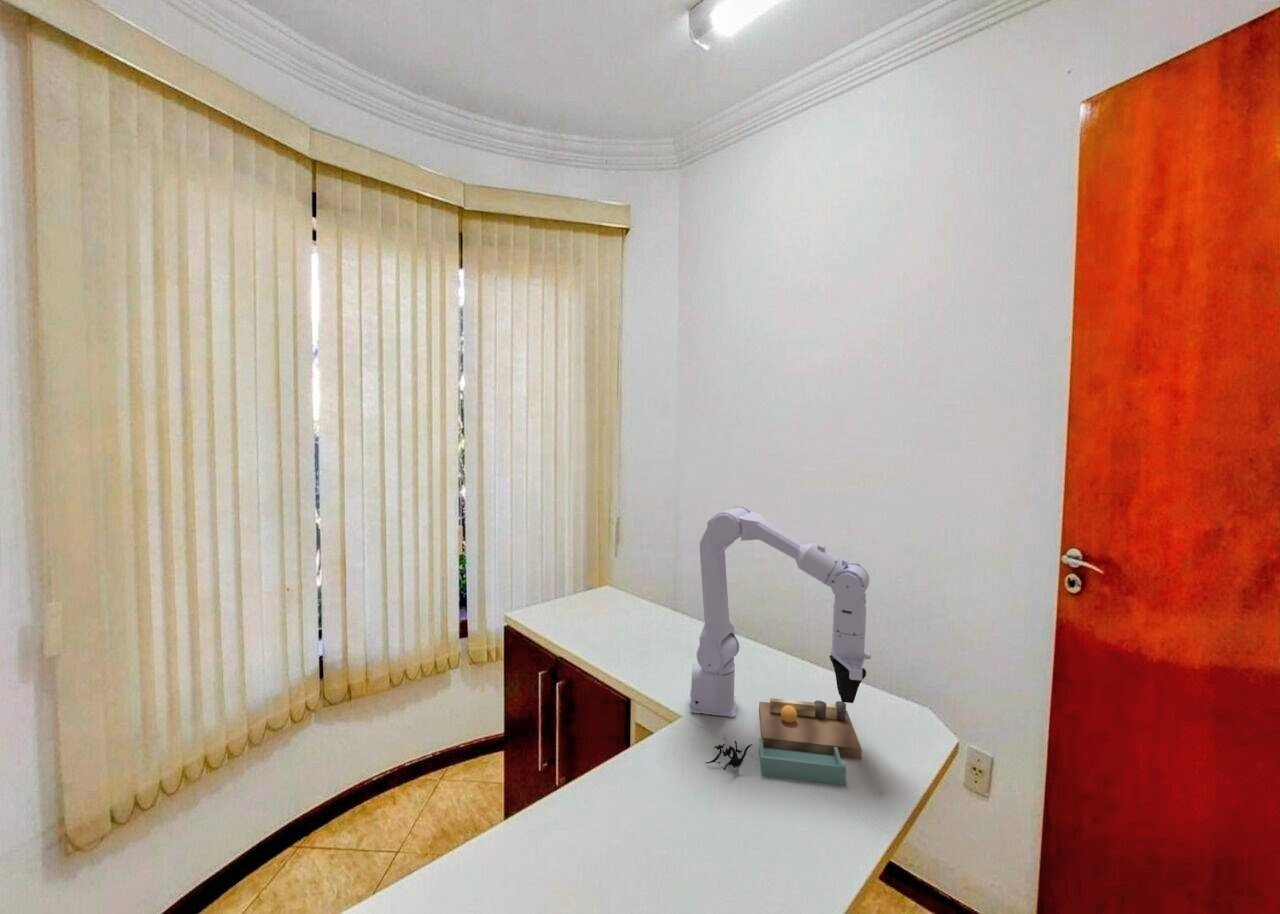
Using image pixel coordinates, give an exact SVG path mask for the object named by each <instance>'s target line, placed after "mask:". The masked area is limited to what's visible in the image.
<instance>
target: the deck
mask: <svg viewBox="0 0 1280 914" xmlns="http://www.w3.org/2000/svg"><path fill="white" fill-rule="evenodd" d="M758 713H759V724H760V725H759V726H760V735H761V736H760V738H761V739H763V747H766V748H774V749H783V750H792V751H800V752H809V753H817V754H826V755H833V754H834V747H837V748H838V751H839V755H840V758H847V759H858V760H861V759H862V750H863V749H862V746H861V743H860V741H859V738H858V735H857V734H856V730H855V728H854V725H853V723H852V720H851V718H850V716H849V715H850V714H849V712H848V710H847V709H846V719H845V720H844V721H840V720H837V719H830V718H825V719H818V718H816V717H811V716H802V715H797V718H796V720H795V721H794V722H792V723H788V722H785V721H784V720H783V719H782V717H781V713H773V712H770V702H767V701H759V702H758Z"/></svg>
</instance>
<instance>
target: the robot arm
mask: <svg viewBox="0 0 1280 914" xmlns="http://www.w3.org/2000/svg"><path fill="white" fill-rule="evenodd" d="M706 523H707V527H706V529H705V530H704V533H703V535H702V537H701V540H699V541H700V542H699V556H700V558H699V561H700V572H701V573H700V574H701V586H702V587H701V588H702V589H701V590H702V604H703V621H704V624H703V627H702V630H701V632H700V635H699V638H698V639H699V645H698V648H697V650H696V661H697V663H692V666H691V667H692V669H691V682H690V683H691V688H690V697H689V698H690V712H691V713H692V712H694V713H693V714H700V713H703V714H702V715H710V714H711V715H713V716H722V717H731V718H735V717H736V715H737V714H736V713H737V710H736V709H737V708H736V705H737V704H736V696H735V678H736V677H735V675H736V674H735V670H736V665H735V664H736V663H735V657H736V656H737V655H738V653H739V651H740V642H739V639H738V638H737V636H736V632H735V626H734V625H733V624H732V623H731V622H730V612H729V596H728V595H729V594H728V581H727V569H726V568H727V567H726V566H727V565H726V564H727V563H726V550H727V549H728V548H729V547H730V546H732V544H734V543H735V541H737V540H738V539H740V540H741V541H742V542H744V541H756V540H757V541H758V540H759V541H761V542H763V543H765V544H766V545H768V546H770V547H772V548H774V549H776V550H778V551H780V552H781V553H783V554H785V555H787V556H789V557H791V558H792V559H794V561H795V562H796V565H797V568H798V569H799V570H800V571H802V572H804V573H806V574H808V575H809V576H811V577H813V579H816V580H817V581H818V582H821V583H822V584H824V585H826V586H827V587H830V589H831V591H832V593H833V594H834V602H833V615H832V617H833V618H832V642H831V648H830V655H829V659H830V661H831V664H832V667H833V670H834V674H835V681H836V687H837V692H838V696H839V697H840V701H841V702H844V703H845V704H847V703H848V704H854V702H855V699H856V697H857V693H858V691H859V690H858V689H859V688H860V684H861V683H862V681H863V680H864V679H865V678H866V676H867V670H866V669H865V667H863V666H864V663H865V661H866V660H871V658H872V655H871V653H870V652H869V651H868V650H865V646H866V645H865V643H866V641H865V640H866V623H867V620H866V619H867V606H866V603H867V594H866V592H867V591H866V590H867V589H868V588H869V585H870V576H869V573H868V571H867V570H866V569H865V568H864V567H863V566H862V565H860V563H857V562H849V560H848V559H846V558H842V559H841V558H840V557H838V556H836V555H834V554H833V553H831V552H830V551H828V550H826V546H825V545H824V544H822V543H818V545H817V544H816V543H814V542H812V543H806V544H803V543H802V542H801V541H799V540H798V539H796V538H795V537H793V536H791V535H789V534H788V533H787V532H785V531H783V530H782V529H781V528H779V527H777V526H776V525H774V524H773V523H771V522H770V521H769V520H766V519H765V518H764V517H763V516H761V515H760V514H759V513H758V512H755V511H751V510H750V509H749V508H747V507H746V506H743V505H737V506H735V507H732V508H730V509H727V510H725V511H721V512H718V513H717V514H715V515H714V516H713V517H712V518H710V519H709V520H708V521H707V522H706ZM711 715H710V716H711Z"/></svg>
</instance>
